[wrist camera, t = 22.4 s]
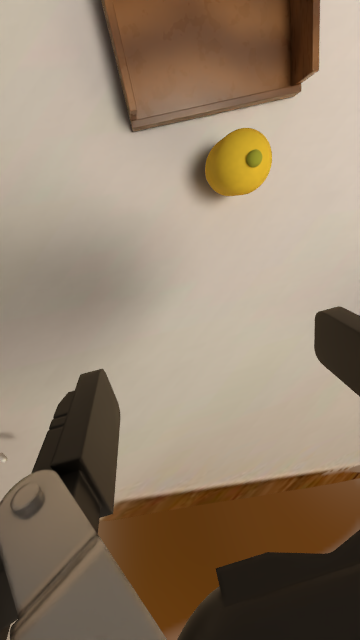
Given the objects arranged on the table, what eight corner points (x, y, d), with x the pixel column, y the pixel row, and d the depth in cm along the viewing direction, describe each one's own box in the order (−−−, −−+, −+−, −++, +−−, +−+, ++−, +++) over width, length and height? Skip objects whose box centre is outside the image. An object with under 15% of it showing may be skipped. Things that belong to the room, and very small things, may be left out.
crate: (294, 96, 30) (319, 79, 26) (132, 132, 29) (132, 120, 25) (291, -49, 26) (322, -97, 21) (98, -11, 25) (90, -55, 20)
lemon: (196, 192, 33) (220, 188, 24) (204, 138, 31) (234, 109, 21) (238, 199, 34) (277, 198, 25) (249, 148, 32) (296, 125, 22)
